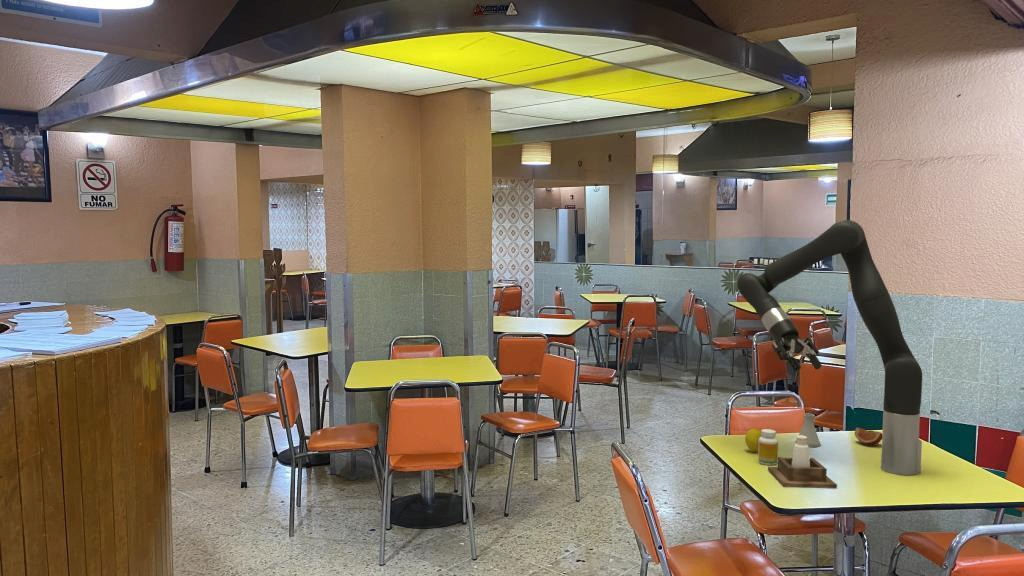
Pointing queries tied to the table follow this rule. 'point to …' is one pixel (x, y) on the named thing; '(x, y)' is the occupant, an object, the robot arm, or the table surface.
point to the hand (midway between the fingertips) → (809, 368)
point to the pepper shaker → (801, 453)
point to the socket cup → (801, 474)
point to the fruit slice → (868, 436)
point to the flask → (809, 431)
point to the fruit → (753, 439)
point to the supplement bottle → (768, 448)
